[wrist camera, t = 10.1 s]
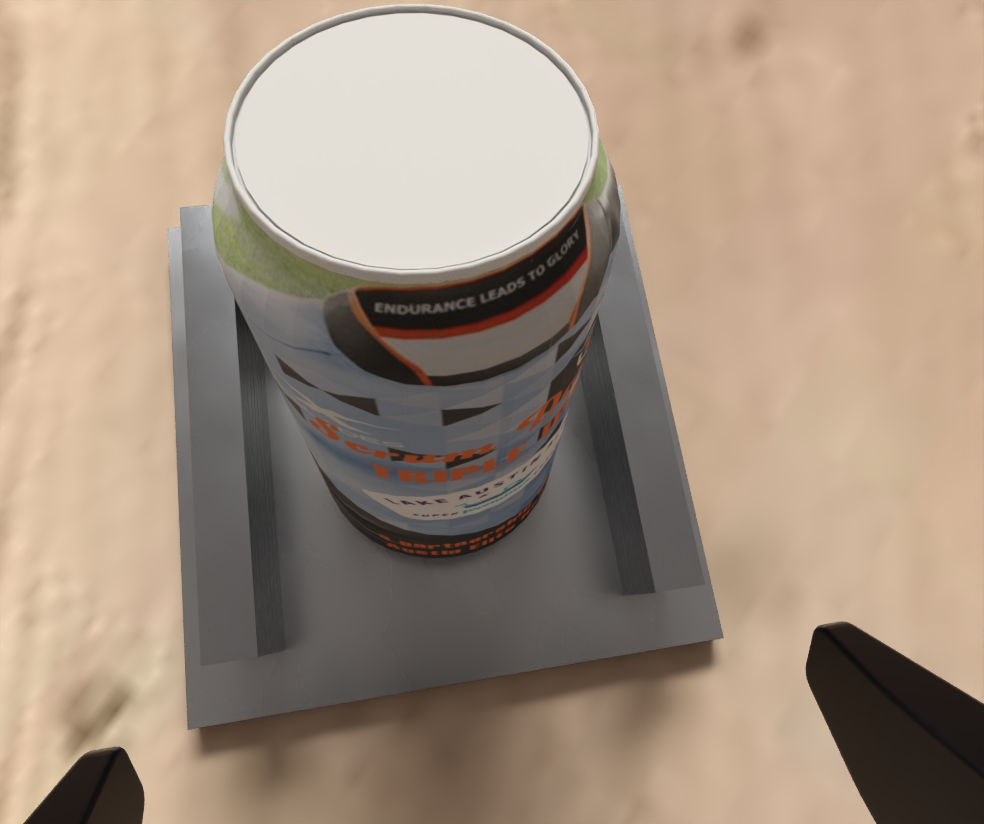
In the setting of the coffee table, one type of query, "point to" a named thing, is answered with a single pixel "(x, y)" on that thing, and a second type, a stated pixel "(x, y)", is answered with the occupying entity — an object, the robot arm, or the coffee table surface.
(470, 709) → the coffee table surface
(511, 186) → the beverage can
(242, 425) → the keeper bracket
